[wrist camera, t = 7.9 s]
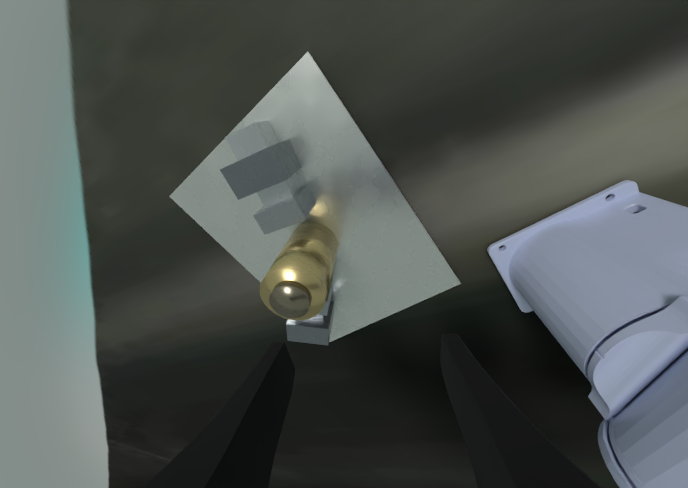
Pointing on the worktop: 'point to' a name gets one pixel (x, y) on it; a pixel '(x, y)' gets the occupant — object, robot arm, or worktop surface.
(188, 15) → the worktop surface
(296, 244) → the cylinder
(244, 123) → the shaft rig
